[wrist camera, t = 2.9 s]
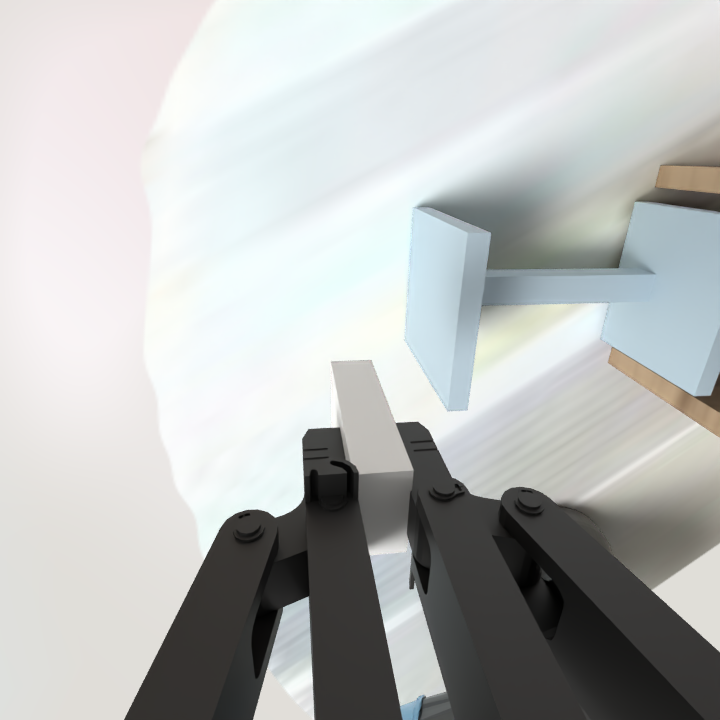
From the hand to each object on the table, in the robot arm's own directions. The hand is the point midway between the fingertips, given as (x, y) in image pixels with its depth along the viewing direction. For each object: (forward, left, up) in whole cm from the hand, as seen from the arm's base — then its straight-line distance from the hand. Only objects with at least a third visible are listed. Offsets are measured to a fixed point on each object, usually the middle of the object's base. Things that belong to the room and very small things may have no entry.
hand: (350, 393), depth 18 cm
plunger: (+8, -14, -18) cm, 23 cm away
